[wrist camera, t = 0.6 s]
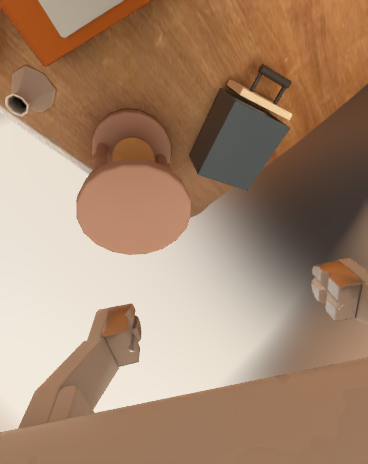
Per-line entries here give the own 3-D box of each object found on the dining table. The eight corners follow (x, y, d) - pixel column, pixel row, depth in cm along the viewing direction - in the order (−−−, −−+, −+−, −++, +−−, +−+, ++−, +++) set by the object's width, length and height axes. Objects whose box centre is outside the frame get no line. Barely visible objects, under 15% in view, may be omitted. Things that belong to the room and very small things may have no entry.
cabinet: (220, 87, 50) (235, 100, 43) (269, 113, 55) (290, 127, 48) (189, 155, 59) (197, 174, 52) (234, 171, 64) (247, 190, 57)
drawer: (241, 53, 46) (258, 59, 40) (288, 81, 51) (308, 90, 45) (197, 145, 56) (206, 160, 51) (240, 161, 61) (251, 176, 56)
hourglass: (183, 130, 54) (212, 190, 36) (152, 191, 64) (164, 263, 46) (104, 92, 47) (92, 144, 29) (83, 168, 56) (64, 243, 38)
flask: (3, 89, 44) (-20, 105, 36) (22, 55, 41) (1, 65, 34) (44, 118, 48) (30, 138, 41) (63, 89, 45) (52, 104, 38)
